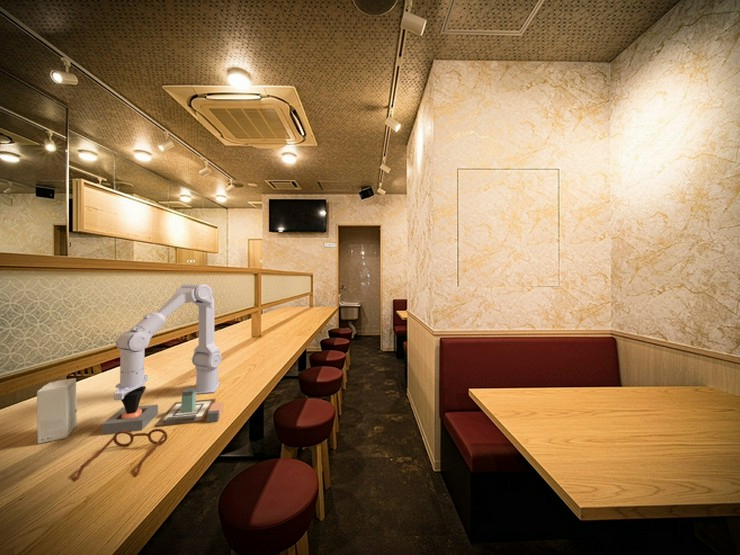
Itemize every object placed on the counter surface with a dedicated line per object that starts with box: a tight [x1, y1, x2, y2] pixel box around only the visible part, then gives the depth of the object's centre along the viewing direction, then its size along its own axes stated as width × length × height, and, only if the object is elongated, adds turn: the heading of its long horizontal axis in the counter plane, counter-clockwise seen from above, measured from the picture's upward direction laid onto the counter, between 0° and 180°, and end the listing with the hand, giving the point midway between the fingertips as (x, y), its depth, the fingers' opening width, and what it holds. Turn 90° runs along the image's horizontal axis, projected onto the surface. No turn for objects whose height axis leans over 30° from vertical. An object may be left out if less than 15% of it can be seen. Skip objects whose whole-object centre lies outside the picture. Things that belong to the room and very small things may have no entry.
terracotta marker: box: [206, 401, 224, 424], centre depth 91 cm, size 7×3×3 cm, turn 16°
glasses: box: [73, 428, 168, 482], centre depth 69 cm, size 13×13×5 cm
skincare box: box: [36, 377, 78, 445], centre depth 79 cm, size 8×6×15 cm
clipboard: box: [155, 398, 216, 428], centre depth 93 cm, size 15×13×2 cm
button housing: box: [101, 404, 159, 435], centre depth 86 cm, size 10×10×3 cm
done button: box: [122, 409, 142, 419], centre depth 86 cm, size 5×5×3 cm
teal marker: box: [181, 387, 197, 413], centre depth 93 cm, size 3×3×7 cm
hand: (131, 412), depth 86 cm, fingers closed, pressing on done button
